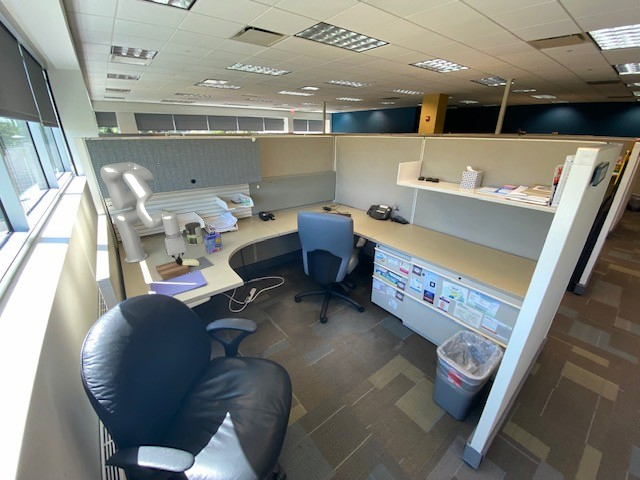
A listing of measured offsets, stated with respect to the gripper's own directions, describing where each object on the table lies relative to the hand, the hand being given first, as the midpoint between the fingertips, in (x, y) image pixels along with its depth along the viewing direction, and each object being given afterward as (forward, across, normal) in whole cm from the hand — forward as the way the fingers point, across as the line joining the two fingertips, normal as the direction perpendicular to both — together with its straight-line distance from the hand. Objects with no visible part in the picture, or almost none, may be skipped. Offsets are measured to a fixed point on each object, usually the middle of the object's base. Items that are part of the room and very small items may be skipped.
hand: (179, 263), depth 163 cm
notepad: (+2, -5, 0) cm, 6 cm away
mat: (+4, -10, 0) cm, 11 cm away
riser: (+4, +4, 0) cm, 6 cm away
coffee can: (+4, -22, -35) cm, 41 cm away
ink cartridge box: (+4, -26, -12) cm, 29 cm away
